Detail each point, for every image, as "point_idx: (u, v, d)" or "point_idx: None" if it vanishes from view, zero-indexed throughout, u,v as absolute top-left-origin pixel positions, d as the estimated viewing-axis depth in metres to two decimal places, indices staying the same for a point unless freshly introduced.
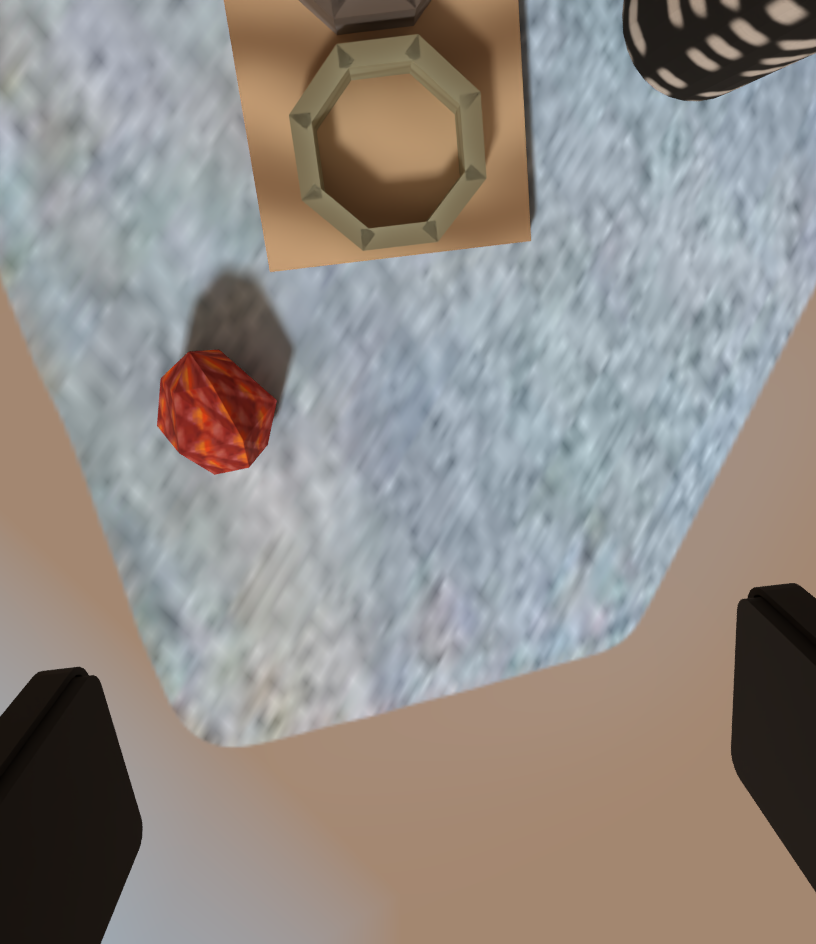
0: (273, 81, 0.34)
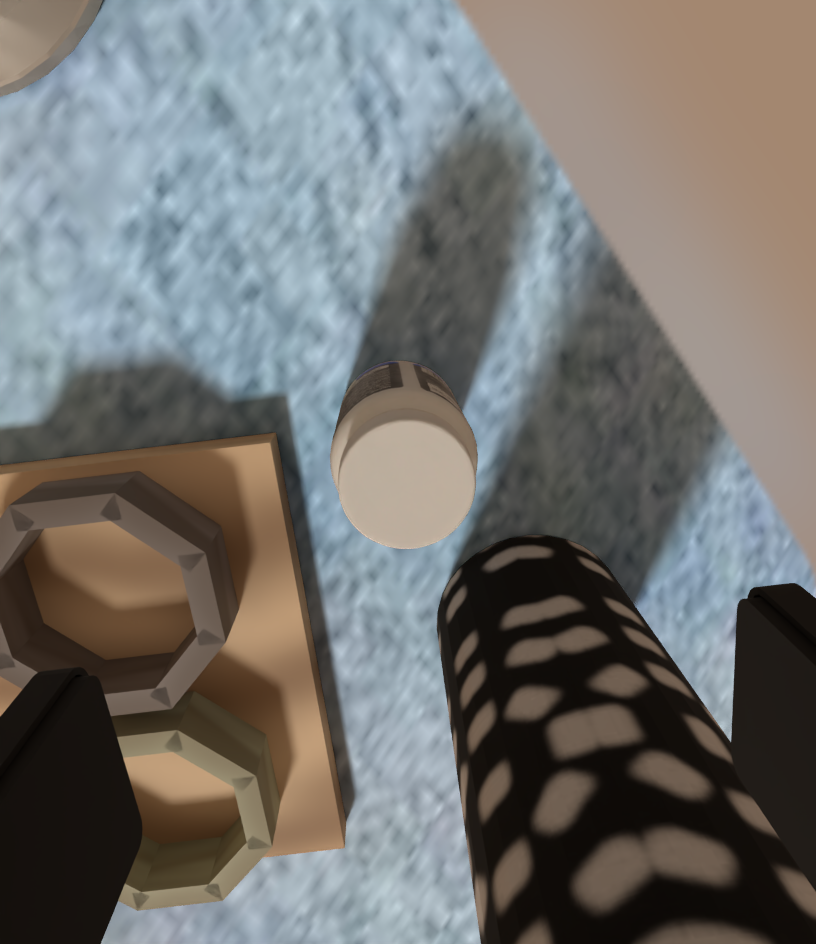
0: None
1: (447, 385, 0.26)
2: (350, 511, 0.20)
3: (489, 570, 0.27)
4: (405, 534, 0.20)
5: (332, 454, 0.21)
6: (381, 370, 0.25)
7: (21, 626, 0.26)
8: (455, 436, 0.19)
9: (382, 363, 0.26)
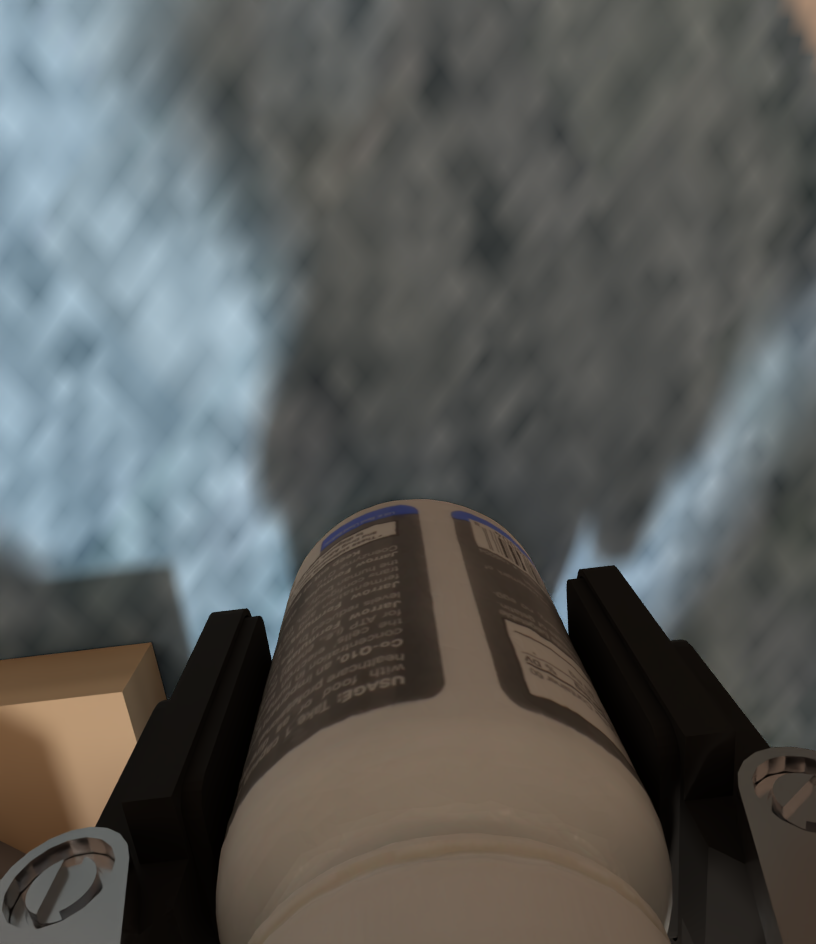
0: None
1: (526, 554, 0.12)
2: None
3: None
4: None
5: (218, 903, 0.07)
6: (378, 547, 0.10)
7: None
8: None
9: (381, 508, 0.11)
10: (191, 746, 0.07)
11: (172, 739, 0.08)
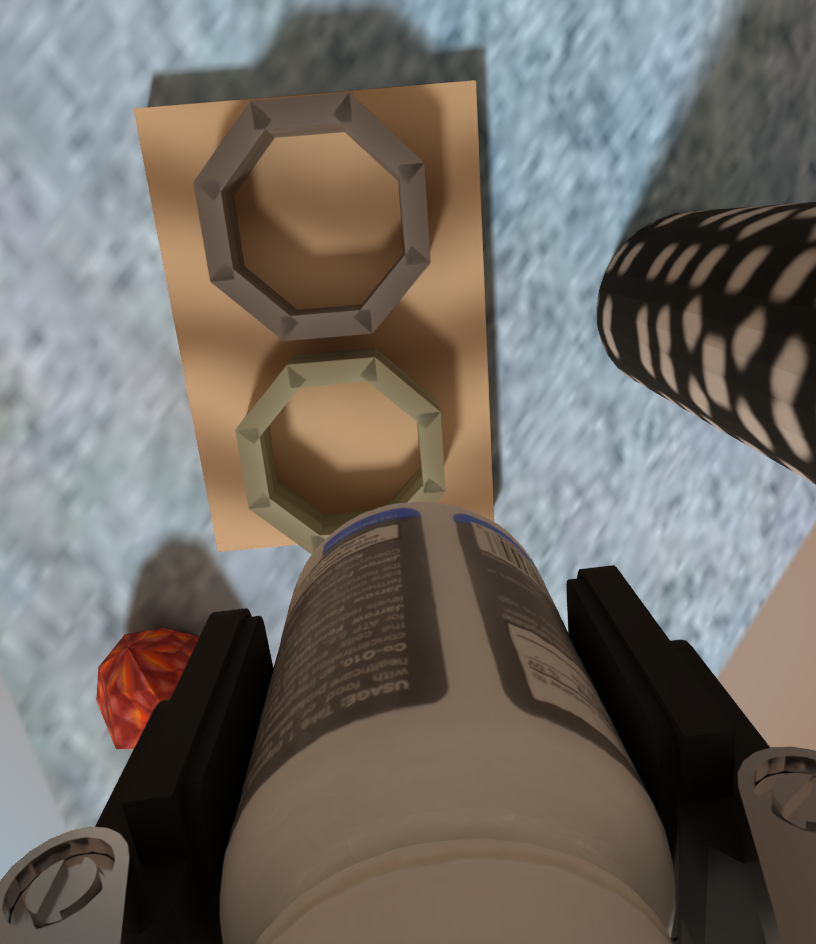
0: (222, 375, 0.31)
1: (528, 557, 0.12)
2: None
3: (665, 224, 0.29)
4: None
5: (222, 907, 0.07)
6: (380, 551, 0.10)
7: (235, 250, 0.28)
8: None
9: (383, 511, 0.11)
10: (191, 746, 0.07)
11: (172, 739, 0.08)
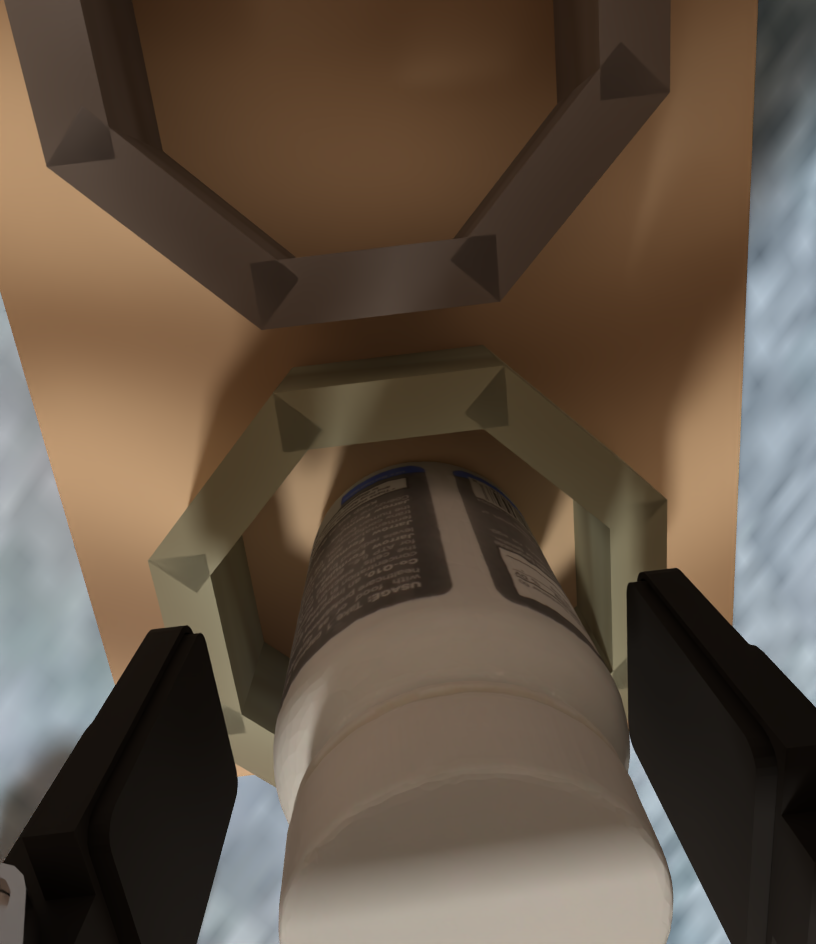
0: (127, 419, 0.13)
1: (517, 509, 0.14)
2: None
3: None
4: None
5: (276, 756, 0.09)
6: (392, 497, 0.12)
7: (124, 89, 0.10)
8: (625, 804, 0.06)
9: (392, 469, 0.13)
10: (104, 775, 0.07)
11: (86, 767, 0.07)
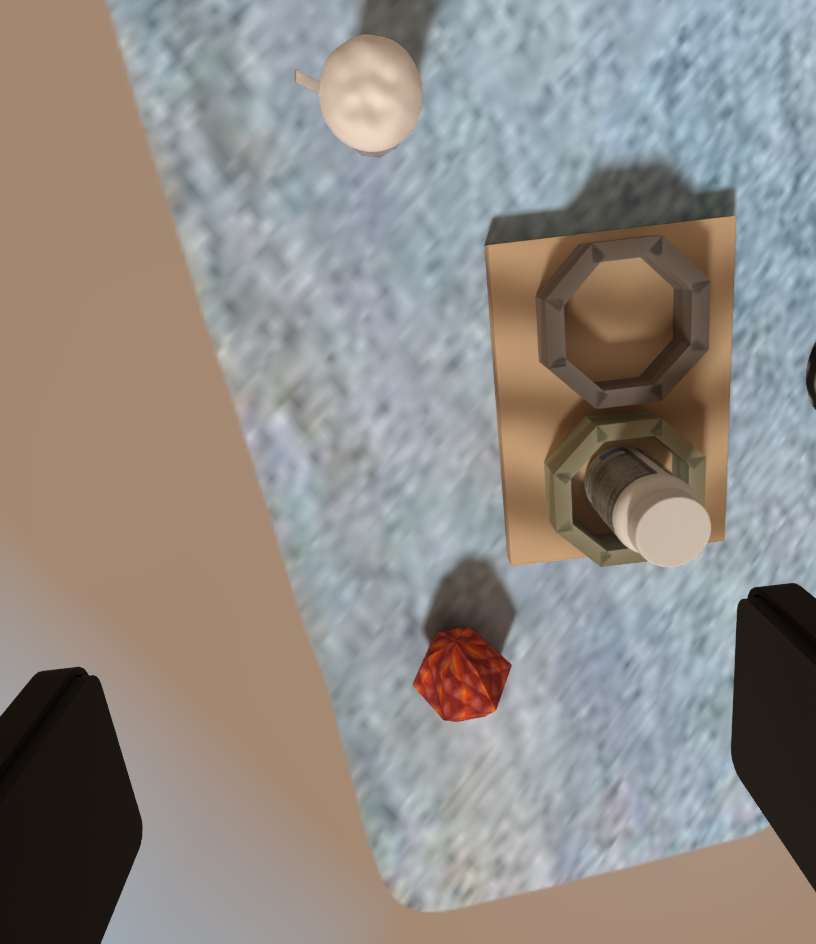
0: (529, 432, 0.42)
1: None
2: (641, 546, 0.35)
3: None
4: (669, 559, 0.35)
5: (616, 512, 0.37)
6: (623, 455, 0.40)
7: None
8: (702, 505, 0.35)
9: (615, 448, 0.42)
10: None
11: None
